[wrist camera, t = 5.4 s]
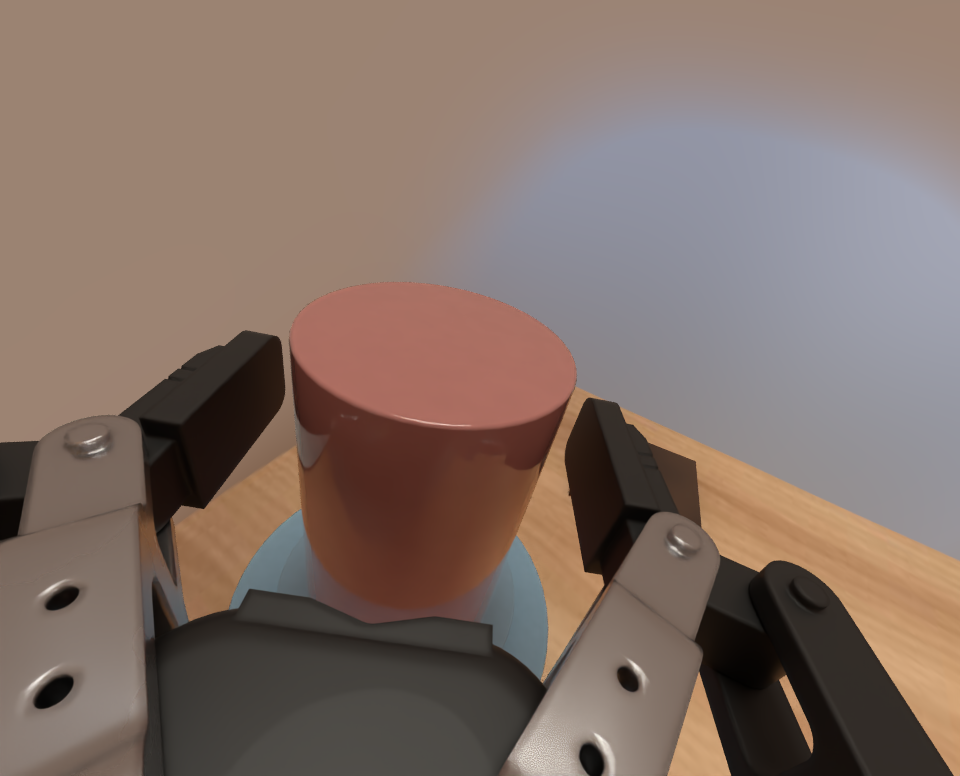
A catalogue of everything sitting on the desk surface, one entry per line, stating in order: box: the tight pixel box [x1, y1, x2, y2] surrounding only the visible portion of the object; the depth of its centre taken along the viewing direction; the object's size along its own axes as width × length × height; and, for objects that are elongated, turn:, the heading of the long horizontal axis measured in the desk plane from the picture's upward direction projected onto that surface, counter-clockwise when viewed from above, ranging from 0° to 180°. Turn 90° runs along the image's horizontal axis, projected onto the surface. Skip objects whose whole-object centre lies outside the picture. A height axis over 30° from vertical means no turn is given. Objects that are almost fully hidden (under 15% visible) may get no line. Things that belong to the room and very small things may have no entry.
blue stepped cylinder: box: [229, 509, 548, 680], centre depth 17 cm, size 13×13×7 cm
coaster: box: [569, 443, 701, 527], centre depth 31 cm, size 9×9×1 cm
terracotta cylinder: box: [289, 282, 577, 624], centre depth 12 cm, size 6×6×10 cm
